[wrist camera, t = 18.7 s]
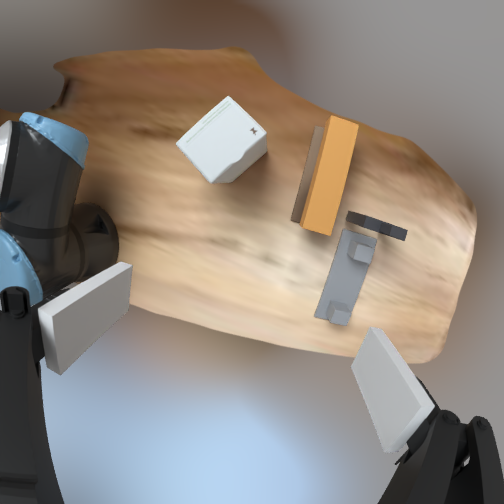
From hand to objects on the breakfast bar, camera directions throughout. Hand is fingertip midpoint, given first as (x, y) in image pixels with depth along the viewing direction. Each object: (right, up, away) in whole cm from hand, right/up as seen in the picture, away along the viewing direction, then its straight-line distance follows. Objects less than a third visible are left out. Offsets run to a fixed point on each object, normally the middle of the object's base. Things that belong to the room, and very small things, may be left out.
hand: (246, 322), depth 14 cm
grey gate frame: (+19, +9, +29) cm, 36 cm away
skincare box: (-2, +19, +29) cm, 34 cm away
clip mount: (+16, -1, +32) cm, 36 cm away
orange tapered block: (+11, +15, +24) cm, 30 cm away
